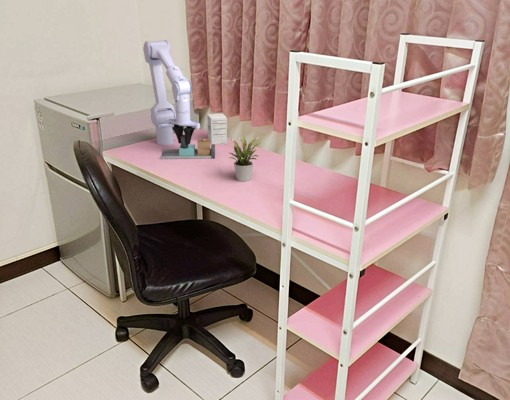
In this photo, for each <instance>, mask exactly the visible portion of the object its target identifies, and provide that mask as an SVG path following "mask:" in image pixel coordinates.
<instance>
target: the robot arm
mask: <svg viewBox="0 0 510 400" xmlns="http://www.w3.org/2000/svg"><path fill="white" fill-rule="evenodd" d="M142 48H143V56H144V60H145V63H146V64H149V69H150V75H151V76H150V77H151V81H152V87H153V93H154V98H155V104H153V106H152V107H151V108H150V119H151V120H150V121H151V123H152V124H153V125H154V126H155V131H156V133H155V134H156V143H157V145H161V146H169V145H172V144H174V141H176V139H177V142H178V144H181V138H180V136H181V135H185V140H186V145H188V144H191V142H192V136H193V134H194V132H195V130H199V129H201V123H200V122H195V121H193V120H191V102H190V101H191V98H190V97H191V96H190V95H191V94H192V91H193V86H192V82H191V80H190V79H188V78H187V77H185V76H184V75H183V72H182V70H181V69H180V67H179V66H178V65H175V63H174V61H173V58H172V56H171V44H170V42H169V41H168V40H167V39H165V40H151V41H150V40H146V41H144V44H143V47H142ZM162 64H163V67H164V68H165V69H166V72H165V74H166V76H167V78H168V80H169V82H170V84H171V91H172V95H173V99H174V101H175V102H174V104H175V105H173V104H171V103H170V102H168V97H167V91H166V86H165V85H166V84H165V79H164V72H163V67H162ZM174 134H175V136H176V139H174Z"/></svg>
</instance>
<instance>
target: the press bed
mask: <svg viewBox="0 0 510 400" xmlns="http://www.w3.org/2000/svg"><path fill="white" fill-rule="evenodd" d="M179 149H180V148H162V151H161V155H160V156H159V160H201V159H202V160H209V159H210V160H211V159H213V160H214V159H215V160H216V144H211V143H210V156H198V148H195V156H179Z"/></svg>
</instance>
